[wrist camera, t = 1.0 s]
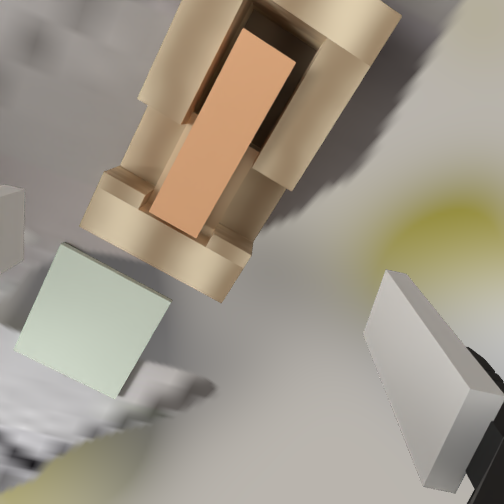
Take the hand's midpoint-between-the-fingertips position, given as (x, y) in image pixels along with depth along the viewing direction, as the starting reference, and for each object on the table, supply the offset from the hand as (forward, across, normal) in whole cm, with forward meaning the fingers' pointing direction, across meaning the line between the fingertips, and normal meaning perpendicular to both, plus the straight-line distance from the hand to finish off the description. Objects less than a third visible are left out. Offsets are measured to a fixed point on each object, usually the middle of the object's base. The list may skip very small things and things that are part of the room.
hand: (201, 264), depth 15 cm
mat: (+23, -12, -19) cm, 32 cm away
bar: (+19, -2, +3) cm, 20 cm away
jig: (+23, -2, +3) cm, 24 cm away
